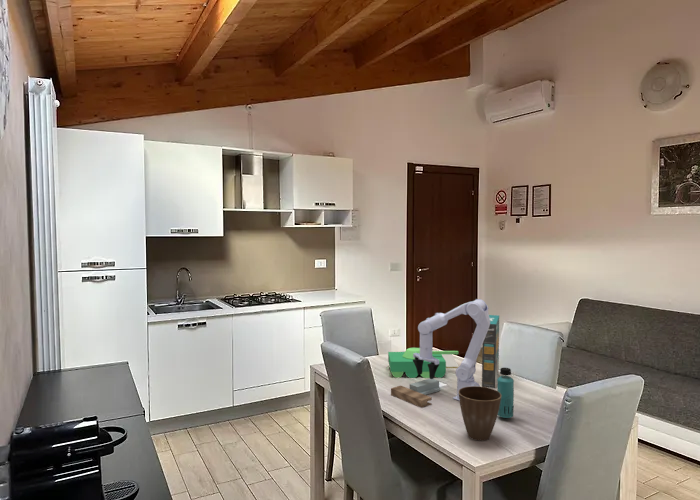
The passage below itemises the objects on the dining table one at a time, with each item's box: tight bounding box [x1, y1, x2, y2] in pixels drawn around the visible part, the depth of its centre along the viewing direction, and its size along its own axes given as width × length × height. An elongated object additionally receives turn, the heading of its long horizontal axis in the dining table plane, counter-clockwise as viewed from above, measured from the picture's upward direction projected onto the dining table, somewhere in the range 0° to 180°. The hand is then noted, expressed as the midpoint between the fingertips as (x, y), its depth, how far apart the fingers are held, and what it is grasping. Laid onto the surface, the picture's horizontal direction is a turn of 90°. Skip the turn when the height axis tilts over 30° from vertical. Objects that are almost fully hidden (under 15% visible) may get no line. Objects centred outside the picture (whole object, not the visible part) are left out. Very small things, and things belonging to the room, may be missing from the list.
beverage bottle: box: [496, 367, 515, 419], centre depth 194 cm, size 6×7×20 cm
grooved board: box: [390, 385, 432, 408], centre depth 215 cm, size 19×6×3 cm, turn 37°
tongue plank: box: [409, 378, 441, 396], centre depth 224 cm, size 14×6×4 cm, turn 127°
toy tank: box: [387, 347, 459, 379], centre depth 253 cm, size 18×12×35 cm
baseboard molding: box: [432, 348, 460, 369], centre depth 275 cm, size 31×3×12 cm
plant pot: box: [458, 386, 501, 442], centre depth 178 cm, size 15×15×16 cm
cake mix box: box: [481, 314, 500, 389], centre depth 239 cm, size 22×6×30 cm, turn 160°
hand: (425, 376), depth 224 cm, fingers open, 7 cm apart
